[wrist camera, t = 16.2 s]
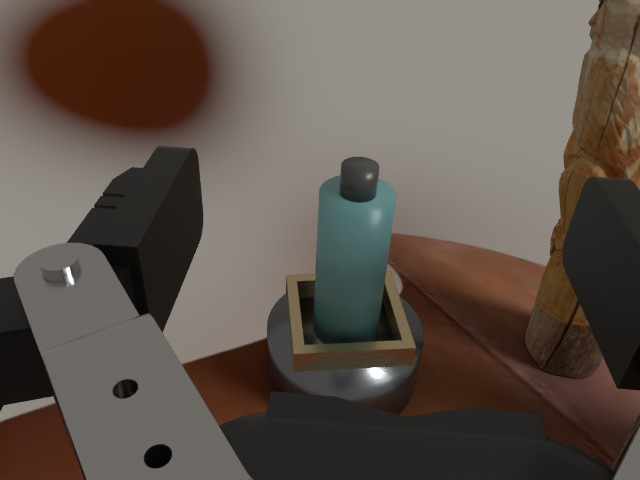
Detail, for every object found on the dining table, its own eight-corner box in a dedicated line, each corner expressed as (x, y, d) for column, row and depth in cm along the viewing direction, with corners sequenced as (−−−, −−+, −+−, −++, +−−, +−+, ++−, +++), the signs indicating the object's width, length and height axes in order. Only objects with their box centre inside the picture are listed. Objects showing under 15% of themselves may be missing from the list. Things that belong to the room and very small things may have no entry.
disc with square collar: (397, 317, 53) (406, 258, 49) (431, 427, 44) (446, 364, 40) (265, 323, 52) (264, 262, 48) (270, 437, 42) (269, 374, 38)
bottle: (371, 304, 47) (391, 147, 39) (383, 349, 43) (407, 185, 35) (310, 306, 47) (317, 148, 38) (316, 352, 43) (325, 186, 34)
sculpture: (525, 298, 56) (635, -42, 39) (615, 356, 50) (792, -13, 33) (480, 325, 53) (580, -34, 35) (571, 391, 47) (744, 1, 30)
